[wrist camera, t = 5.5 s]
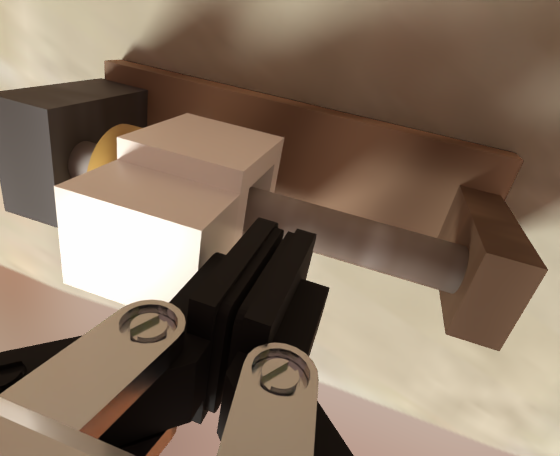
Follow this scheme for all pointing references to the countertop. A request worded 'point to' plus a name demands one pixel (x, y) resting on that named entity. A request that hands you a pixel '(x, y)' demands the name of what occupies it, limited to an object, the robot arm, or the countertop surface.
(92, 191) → the sleeve
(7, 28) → the countertop surface
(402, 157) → the rail
